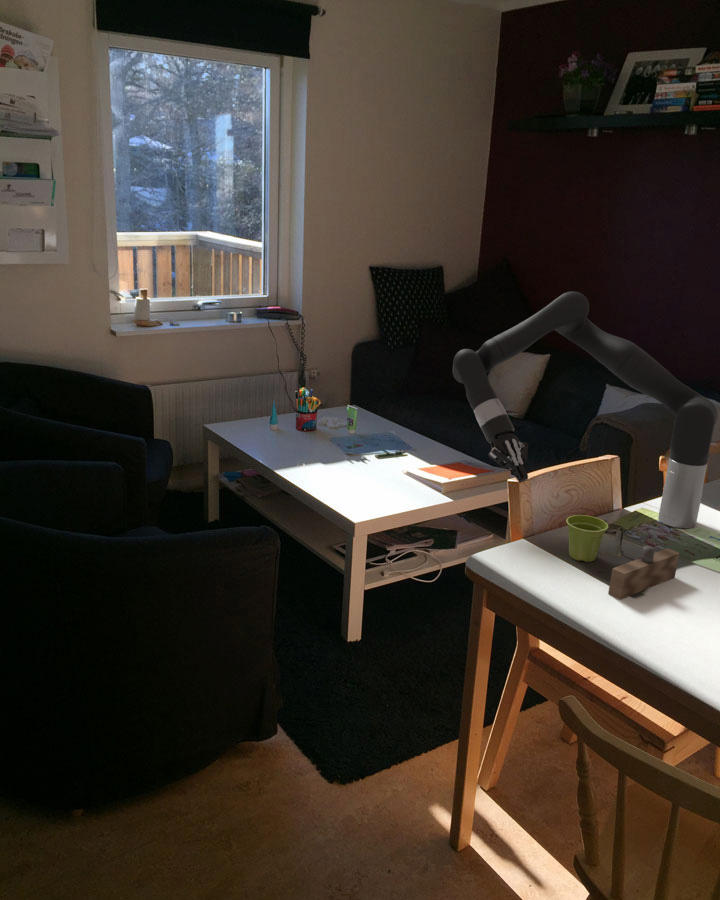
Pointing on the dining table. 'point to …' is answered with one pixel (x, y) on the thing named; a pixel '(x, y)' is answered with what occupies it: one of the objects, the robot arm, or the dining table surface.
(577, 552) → the plant pot
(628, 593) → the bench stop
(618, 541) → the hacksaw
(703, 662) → the dining table surface
